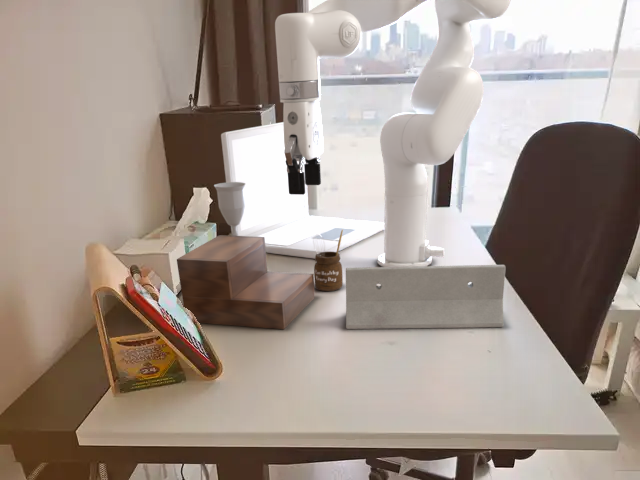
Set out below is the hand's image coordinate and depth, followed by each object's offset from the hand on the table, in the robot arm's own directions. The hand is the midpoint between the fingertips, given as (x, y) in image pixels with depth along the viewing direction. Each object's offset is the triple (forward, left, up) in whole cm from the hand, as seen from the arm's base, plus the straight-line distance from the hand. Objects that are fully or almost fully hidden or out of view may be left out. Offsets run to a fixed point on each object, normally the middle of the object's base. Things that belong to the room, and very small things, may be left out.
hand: (305, 189), depth 128 cm
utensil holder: (-4, -1, -20) cm, 21 cm away
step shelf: (+7, +15, -20) cm, 26 cm away
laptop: (+13, -41, -20) cm, 48 cm away
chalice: (+24, -16, -20) cm, 35 cm away
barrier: (-26, +15, -20) cm, 36 cm away
